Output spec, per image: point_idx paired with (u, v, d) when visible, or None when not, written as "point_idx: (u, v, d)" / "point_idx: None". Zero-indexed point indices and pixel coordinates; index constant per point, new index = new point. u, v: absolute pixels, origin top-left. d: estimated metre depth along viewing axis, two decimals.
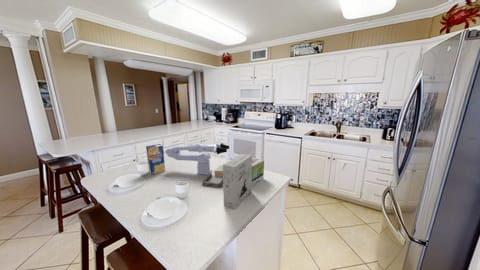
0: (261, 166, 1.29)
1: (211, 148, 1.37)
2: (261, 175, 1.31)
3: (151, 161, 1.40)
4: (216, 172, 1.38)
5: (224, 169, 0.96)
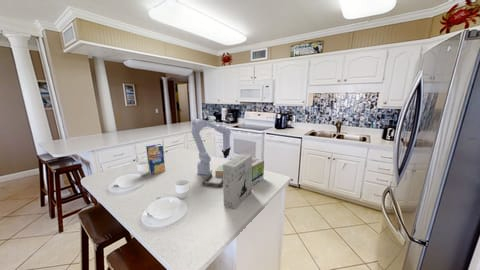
0: (261, 166, 1.29)
1: (226, 143, 1.49)
2: (261, 175, 1.31)
3: (151, 161, 1.40)
4: (217, 172, 1.37)
5: (224, 169, 0.96)
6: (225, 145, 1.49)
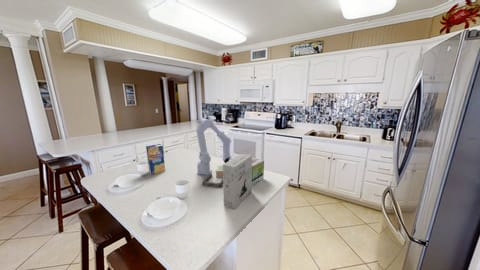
0: (261, 166, 1.29)
1: (226, 152, 1.51)
2: (261, 175, 1.31)
3: (151, 161, 1.40)
4: (218, 172, 1.37)
5: (224, 169, 0.96)
6: (225, 154, 1.51)
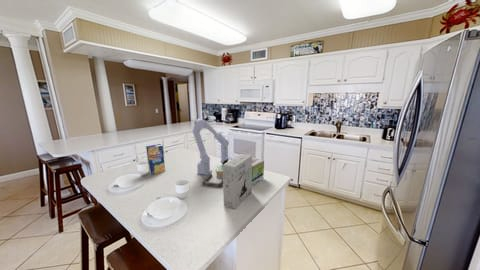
0: (261, 166, 1.29)
1: (224, 154, 1.46)
2: (261, 175, 1.31)
3: (151, 161, 1.40)
4: (218, 173, 1.36)
5: (224, 169, 0.96)
6: (223, 156, 1.46)
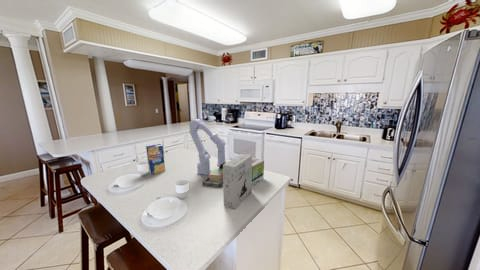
0: (261, 166, 1.29)
1: (221, 158, 1.38)
2: (261, 175, 1.31)
3: (151, 161, 1.40)
4: (211, 176, 1.31)
5: (224, 169, 0.96)
6: (220, 160, 1.38)
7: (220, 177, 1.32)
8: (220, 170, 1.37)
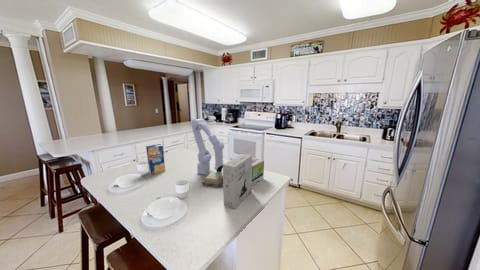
0: (261, 166, 1.29)
1: (218, 160, 1.33)
2: (261, 175, 1.31)
3: (151, 161, 1.40)
4: (208, 180, 1.26)
5: (224, 169, 0.96)
6: (217, 162, 1.33)
7: (217, 181, 1.27)
8: (217, 173, 1.32)
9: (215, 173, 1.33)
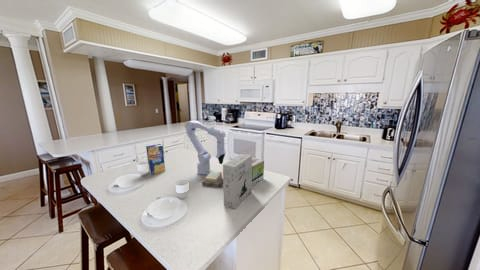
0: (261, 166, 1.29)
1: (220, 149, 1.34)
2: (261, 175, 1.31)
3: (151, 161, 1.40)
4: (207, 180, 1.25)
5: (224, 169, 0.96)
6: (219, 151, 1.34)
7: (217, 181, 1.26)
8: (217, 173, 1.32)
9: (215, 173, 1.32)
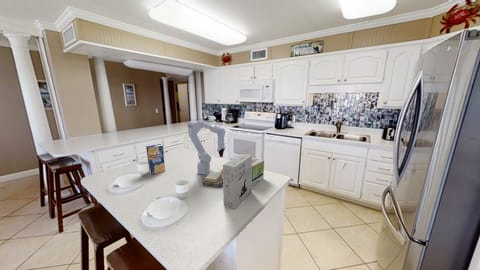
0: (261, 166, 1.29)
1: (220, 143, 1.49)
2: (261, 175, 1.31)
3: (151, 161, 1.40)
4: (207, 180, 1.25)
5: (224, 169, 0.96)
6: (220, 145, 1.50)
7: (217, 181, 1.26)
8: (217, 173, 1.32)
9: (215, 173, 1.32)
